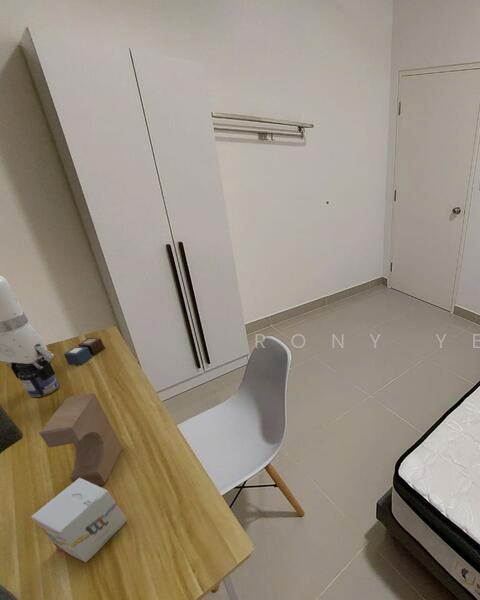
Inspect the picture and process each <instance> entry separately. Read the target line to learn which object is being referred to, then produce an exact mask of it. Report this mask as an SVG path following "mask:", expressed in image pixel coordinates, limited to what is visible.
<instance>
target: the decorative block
mask: <svg viewBox="0 0 480 600" xmlns="http://www.w3.org/2000/svg"><path fill="white" fill-rule="evenodd" d="M38 434H39V435H40V437H41V439H42V440H43V441H44V443H45V444H46V446H47V447H48V448H54V447H61V446H66V445H71V444H72V445H73V446H74V448H75V461H74V467H73V470H72V472H71V474H70V477H69V479H70V481H71V482H72V483H73V482H75V481H76V480H77V479H78V478H81V479H84V480H86V481H88V482H90V483H92V484H95V485H97V486H99V487H101V486H104V485H105V484H106V483H107V480H108V479H109V476H110V475H111V473H112V470H113V469H114V466H115V464H116V462H117V460H118V458H119V457H120V454H121V452H122V450H123V445H122V443H121V440H120V439H119V437H118V435H117V434H116V431H115V429H114V428H113V426H112V424H111V422H110V420H109V418H108V416H107V414H106V412H105V411H104V409H103V407H102V405H101V403H100V401H99V398H98V397H97V395H96V393H94V392H90V393H84V394H77V395H71V396H67V397H66V398H65V399H64V400H63V402H61V404H60V405H59V407H58V408H57V410H56V411H55V412H54V413H53V414H52V416H51V417H50V418H49V420H47V422H46V423H45V425H44V426H43V427H42V428H41V430H40V431H39V433H38Z"/></svg>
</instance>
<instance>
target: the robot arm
mask: <svg viewBox="0 0 480 600" xmlns="http://www.w3.org/2000/svg"><path fill="white" fill-rule="evenodd" d="M55 357H56V355H55V354H53V352H51V351H49V350H48V348H47V345H46V343H45V341H44V340H43V339H42V337H41V335H40V334H39V333H38V331H37V330H36V329H35V328H34V326H32V324H31V323H30V321H29V319H28V316H27V315H26V313H25V311H24V309H23V307H22V306H21V303H20V302H19V300H18V298H17V296H16V294H15V292H14V290H13V289H12V287H11V286H10V284H9V281H8V280H7V278H5V277H4V276H2V275H0V362H4V363H6V366H7V367H9V368H10V370H11V371H12V372H13V374H14V376H15V377H16V378H17V379H19V377H18V372H19V371H20V370H18V369H17V367H16V364H17V363H25V364H30V363H33V364H34V365H35V366H36V367H37V368H38V369H37V370H36V371H37V372H38V374H39V376H40V378H41V379H42V380H44V381H45V380H47V379H48V378H50V377H51V376H53V375H54V376H55V374H56V372H55V369H54V368H53V366H52V364H51V363H52V362H53V360H54V359H55ZM40 358H41V360H42V362H41V363H39V362H38V361H37V360H38V359H40Z"/></svg>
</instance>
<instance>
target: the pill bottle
mask: <svg viewBox="0 0 480 600" xmlns="http://www.w3.org/2000/svg"><path fill="white" fill-rule="evenodd" d="M37 361H38V362H39V363H41V362H42V361H43V360H42V359H41V358H40V359H38V360H37ZM16 367H17V369H18V370H20V371H19V372H18V377H19V378H18V379H19V381H20V383H22V386H23V387H24V388H25V390H26V392H27V394H28V395H29V397H31V398H32V399H42V398H46V397H49V396H51V395H53V394H55V393H56V392H57V391H59V389H60V388H61V387H60V386H61V384H60V383H59V381H58V379H57V378H55V377H56V376H55V374H54V375H53V376H51V377H50V378H48V379H47V380H45V381H44V380H42V379H41V378H40V376H39V374H38V372H37V371H36V370H37V369H38V368H37V367H36V366H35V365H34V364H33V363H30V364H25V363H17V364H16Z"/></svg>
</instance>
